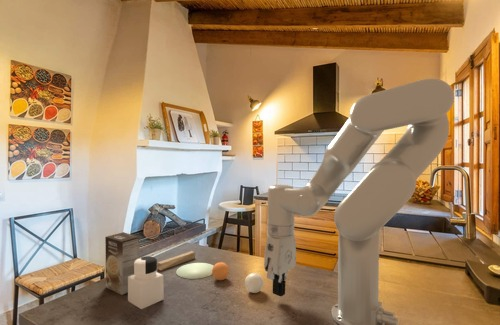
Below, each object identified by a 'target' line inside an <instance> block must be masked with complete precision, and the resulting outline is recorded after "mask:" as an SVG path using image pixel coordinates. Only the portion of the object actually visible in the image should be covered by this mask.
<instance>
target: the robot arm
mask: <svg viewBox="0 0 500 325" xmlns="http://www.w3.org/2000/svg"><path fill="white" fill-rule="evenodd" d="M454 102H455V92H454V90H453V88H452V87H451V85H450V84H449V83H448V82H446V81H444V80H442V79H438V78H425V79H424V78H423V79H419V80H415V81H412V82H407V83H405V84H402V85H398V86H395V87H391V88H387V89H383V90H381V91H377V92H374V93H369V94H367V95H364V96H362V97H360V98H358V99H356V101H355V102H354V103H353V104H352V106H351V108H350V111H349V118H347V120H346V121H345V123H344V124H343V126H342V127H341V128H340V129H339V131H338V132H337V134H336V135H335V137H334V138H333V139H332V140H331V142H330V143H329V144H328V146H327V147H326V149H325V151H324V154H323V159H322V162H321V163H320V166H319V167H318V169H317V170H316V172H315V173H314V175H313V176H312V177H311V178H310V180H309V181H308V183H307V184H306V185H305V186H303V187H297V188H295V187H293V186H291V185H288V184H274V185H273V184H272V185H270V186H269V188H268V190H267V215H266V216H267V218H266V222H267V223H266V241H265V248H264V258H263V260H264V261H263V264H264V265H263V266H264V271H265V272H267V273H266V278H267V279H269V280H272V293H273V295H276V296H279V297H283V296H285V295H286V280H287V278H288V272H289V271H291V270H292V269H293V268H295V267H296V265H297V246H296V245H297V244H296V237H295V235H296V234H295V217H296V216H295V215H297V216H300V217H312V216H314V215H316V214H317V213H319V211H320V210H321V209H323V207H324V206H326V204H327V203H328V201H329V200H330V199H331V197H332V196H333V195H334V194H335V192H336V191H337V190H338V189H339V187H340V186H341V184H342V183H343V182H344V180H345V179H346V178H347V177H348V176H349V175H350V174H351V173H353V171H354V170H355V168H356V167H357V166H358V165H359V163H360V162H361V160H362V159H363V158H364V157H365V156H366V154H368V151H369V150H370V149H371V148H372V146H373V145H374V144H375V142H376V141H377V140H378V139H379V137H380V136H381V135H382V134H383V133H384V131H387V130H392V129H397V128H401V127H406V126H407V128H406V130H405V132H404V134H403V135H402V136H401V137H400V138H399V140H398V141H397V142H396V143H395V144H394V146H393V147H392V148H391V149H390V150H389V151H388V152H387V153H386V155H385V156H383V158H382V159H381V160H380V161H378V162H377V163H375V164H374V165H373V166H372V167H371V169H370V170H369V171H368V172H367V173H366V174H365V175H364V176H363V177H362V178H361V180H360V181H359V182H358V183H357V184H356V186H354V188H353V189H352V190H351V191H350V192H349V193H348V194H347V195H346V196H345V197H344V198H342V200H341V201H340V202H339V204H338V205H337V207H336V209H335V211H334V217H333V221H334V225H335V228H336V230H337V231H338V248H337V250H338V252H337V253H338V256H337V257H338V258H337V259H338V260H337V303H335V304H334V305H333V306H332V307H331V317H332V320H334V321H335V323H337V324H338V325H386V324H387V325H398V321H399V319H398V317H395V312H392V311H389V310H385V309H384V308H383V302H381V301H379V290H380V289H379V283H380V282H379V279H380V278H379V277H380V276H379V272H380V270H379V267H380V262H379V260H380V230H381V229H382V228H383V227H384V226H385V225H386V224H387V223H388V222H389V221H390V220H391V219H392V218H393V217H394V216H395V215H396V214H397V213H398V212H399V211H400V210H401V209H402V208H403V207H404V206H405V205H406V204H407V203H408V202H409V200H410V199H411V198H412V197H413V195H414V192H415V191H416V188H417V179H418V178H419V177H420V176H422V174H423V173H424V172H425V171H426V170H427V169H428V167H429V166H430V165H431V164H432V163H433V162H434V161H435V160H436V159H437V157H438V156H439V155H440V154H441V152H442V151H443V149H444V148H445V146H446V144H447V141H448V139H449V133H450V124H449V123H450V122H449V118H448V115H447V114H448V112H450V110H451V109H452V107H453V104H454Z"/></svg>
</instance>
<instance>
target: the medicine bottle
mask: <svg viewBox="0 0 500 325" xmlns="http://www.w3.org/2000/svg"><path fill="white" fill-rule="evenodd" d="M157 262H158V260H157V258H156V257H154V256H152V255H151V256H149V255H148V256H141V257H139V259H137V260H136V261H135V262H134V275H131V276H129V277H128V293H127V301H128V302H129V303H130V304H132V305H133V306H135V307H137V308H138V309H140V310H143V309H146V308H148V307H150V306H152V305H155V304H157V303H159V302H161V301H164V292H165V291H164V290H165V288H164V286H165V285H164V274H161V273H159V272H158V269H157Z"/></svg>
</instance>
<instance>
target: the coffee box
mask: <svg viewBox="0 0 500 325" xmlns="http://www.w3.org/2000/svg"><path fill="white" fill-rule="evenodd" d="M139 258H140V236H139V235H138V236H137V235H133V234H130V233H127V232H125V231H124V232H118V233H115V234H112V235H108V236H105V288H106V289H108V290H111V291H113V292H115V293H117V294H119V295H121V296H123V295H125V294H128V277H129V276H131V275H134V262H135V261H136V260H137V259H139Z"/></svg>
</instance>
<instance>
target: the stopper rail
mask: <svg viewBox="0 0 500 325" xmlns="http://www.w3.org/2000/svg"><path fill="white" fill-rule="evenodd" d="M193 259H196V252H195V251H193V250H190V251H187V252H184V253H181V254H178V255H176V256H173V257H169V258H166V259H164V260H160V261H157V271H165V270H166V269H168V268H169V269H170V268H171V267H174V266H177V265H180V264H183V263H186V262H189V261H191V260H193Z"/></svg>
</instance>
